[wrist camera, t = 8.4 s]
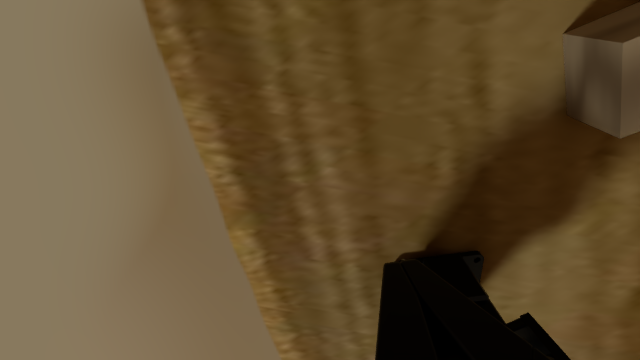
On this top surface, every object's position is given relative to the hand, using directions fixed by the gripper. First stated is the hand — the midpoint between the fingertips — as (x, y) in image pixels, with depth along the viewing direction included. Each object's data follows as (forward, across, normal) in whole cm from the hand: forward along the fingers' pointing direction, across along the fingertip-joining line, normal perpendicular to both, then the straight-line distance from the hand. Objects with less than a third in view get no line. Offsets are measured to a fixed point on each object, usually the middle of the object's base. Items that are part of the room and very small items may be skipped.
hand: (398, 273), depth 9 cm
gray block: (+13, -16, -1) cm, 20 cm away
